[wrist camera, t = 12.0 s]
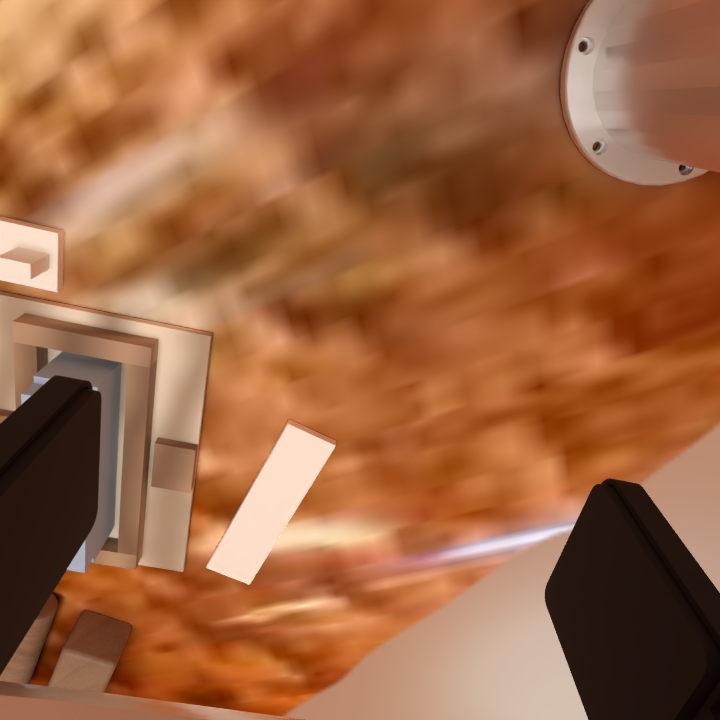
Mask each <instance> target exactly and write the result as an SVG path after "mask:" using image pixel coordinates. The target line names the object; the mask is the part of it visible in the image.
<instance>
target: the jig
mask: <svg viewBox="0 0 720 720" xmlns="http://www.w3.org/2000/svg"><path fill="white" fill-rule="evenodd" d="M212 337H213V333H210V332H205V331H200V330H195V329H189V328H184V327H179V326H174V325H169V324H164V323H159V322H154V321H149V320H144V319H139V318H134V317H129V316H124V315H119V314H114V313H109V312H104V311H99V310H94V309H89V308H84V307H78V306H73V305H68V304H63V303H58V302H53V301H48V300H43V299H38V298H33V297H28V296H23V295H18V294H13V293H8V292H3V291H0V423H2V422H3V421H4V420H5V419H6V418H7V417H8V416H9V415H10V414H12V413H13V412H14V411H15V410H16V409H17V408H18V407H19V406H20V405H21V393H22V392H24V391H25V390H26V389H27V388H28V387H29V386H31V385H32V384H33V383H34V375H35V374H36V373H38V372H39V371H40V370H41V369H42V368H43V367H45V366H46V365H47V364H48V363H49V362H51V361H52V360H53V359H54V358H55V357H56V356H58V355H59V354H60V353H61V352H62V351H64V352H69V353H74V354H80V355H85V356H90V357H95V358H101V359H106V360H111V361H116V362H122V365H121V388H120V411H119V434H118V458H117V481H116V504H115V526H114V528H113V529H112V531H111V533H110V535H109V536H108V538H107V540H106V542H105V543H104V545H103V547H102V549H101V550H100V552H99V554H98V556H97V557H96V559H95V561H94V562H91V563H97V564H103V565H109V566H116V567H122V568H128V569H134V570H136V568H137V566H138V565H144V566H150V567H156V568H163V569H169V570H175V571H181V572H183V571H184V568H185V563H186V555H187V546H188V538H189V530H190V521H191V513H192V505H193V496H194V488H195V480H196V471H197V463H198V454H199V446H200V438H201V429H202V421H203V413H204V404H205V396H206V387H207V379H208V371H209V362H210V354H211V346H212Z"/></svg>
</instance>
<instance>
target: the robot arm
mask: <svg viewBox="0 0 720 720" xmlns="http://www.w3.org/2000/svg"><path fill="white" fill-rule="evenodd" d="M580 42H583V43H584V45H585V48H584V50H583V51H582V52H580V51H579V49H578V45H579V43H580ZM560 98H561V104H562V110H563V117H564V120H565V123H566V125H567V128H568V131H569V134H570V136H571V138H572V139H573V141H574V143H575V144H576V146H577V147H578V149H579V151H580V152H581V153H582V154H583V155H584V156H585V157H586V158H587V159H588V160H589V161H590V162H591V164H592V165H593V166H595V167H596V168H598V169H600V170H601V171H603V172H604V173H606V174H607V175H609V176H612V177H615V178H617V179H620V180H622V181H626V182H630V183H634V184H639V185H655V186H662V185H668V184H674V183H680V182H684V181H686V180H689V179H692V178H695V177H698V176H700V175H703V174H704V173H706V172H708V171H714V172H719V173H720V0H589V1H588V3H587V4H586V6H585V7H584V9H583V11H582V13H581V15H580V16H579V18H578V20H577V22H576V24H575V25H574V28H573V30H572V33H571V36H570V39H569V41H568V44H567V47H566V49H565V54H564V59H563V65H562V70H561V86H560ZM595 142H597V143H598V147H597V149H596V150H593V149H592V148H593V144H594V143H595ZM680 165H682V168H681V169H680V170H679V166H680ZM101 403H102V398H101V393H100V392H99V391H96V390H93V387H92V384H91V383H90V381H86V380H81V379H75V378H70V377H65V376H59V375H55V376H53V377H52V378H50V379H49V380H48V381H47V382H46V383H45V384H44V385H43V386H42V387H40V388H39V389H38V390H37V391H36V392H35V393H34V394H33V395H32V396H30V397H29V398H28V399H27V400H26V401H25V402H24V403H23V404H22V405H20V406H19V407H18V408H17V409H16V410H15V411H14V412H13V413H12V414H10V415H9V416H8V417H7V418H6V419H5V420H4V421H3V422H2V423H0V676H1V674H2V672H3V671H4V669H5V668H6V666H7V664H8V663H9V661H10V660H11V658H12V656H13V655H14V653H15V652H16V650H17V648H18V647H19V645H20V644H21V642H22V640H23V639H24V637H25V636H26V634H27V632H28V631H29V629H30V628H31V626H32V624H33V623H34V621H35V620H36V618H37V616H38V615H39V613H40V612H41V610H42V608H43V607H44V605H45V604H46V602H47V600H48V599H49V597H50V596H51V594H52V592H53V591H54V589H55V588H56V586H57V584H58V583H59V581H60V580H61V578H62V576H63V575H64V573H65V572H66V570H67V568H68V567H69V565H70V564H71V562H72V560H73V559H74V557H75V556H76V554H77V552H78V551H79V549H80V548H81V546H82V544H83V543H84V541H85V539H86V538H87V536H88V535H89V533H90V531H91V530H92V528H93V526H94V523H95V520H96V517H97V512H98V492H99V463H100V433H101ZM545 602H546V606H547V609H548V611H549V614H550V617H551V619H552V622H553V625H554V628H555V630H556V633H557V636H558V638H559V641H560V644H561V646H562V649H563V652H564V655H565V657H566V660H567V662H568V665H569V668H570V671H571V674H572V676H573V679H574V682H575V684H576V687H577V690H578V693H579V695H580V698H581V701H582V703H583V706H584V709H585V711H586V714H587V717H588V720H720V593H719V591H718V590H717V589H716V587H715V586H714V584H713V583H712V582H711V581H710V579H709V578H708V576H707V575H706V574H705V572H704V571H703V569H702V568H701V567H700V565H699V564H698V563H697V561H696V560H695V558H694V557H693V556H692V554H691V553H690V552H689V550H688V549H687V547H686V546H685V545H684V544H683V542H682V541H681V539H680V538H679V537H678V535H677V534H676V533H675V531H674V530H673V529H672V527H671V526H670V524H669V523H668V521H667V520H666V519H665V517H664V516H663V515H662V513H661V512H660V511H659V509H658V508H657V506H656V505H655V504H654V503H653V501H652V500H651V498H650V497H649V496H648V494H647V493H646V491H645V490H644V489H643V487H642V486H640V485H639V484H636V483H631V482H626V481H621V480H615V479H606V480H605V481H603V482H602V484H597V485H595V486H594V487H593V489H592V490H591V492H590V494H589V496H588V499H587V501H586V503H585V505H584V507H583V509H582V511H581V513H580V515H579V517H578V520H577V522H576V524H575V526H574V528H573V530H572V532H571V534H570V536H569V538H568V541H567V543H566V545H565V547H564V549H563V551H562V553H561V556H560V558H559V560H558V562H557V564H556V566H555V568H554V570H553V572H552V574H551V576H550V579H549V581H548V583H547V586H546V589H545ZM0 720H303V719H295V718H288V717H281V716H273V715H266V714H258V713H251V712H243V711H236V710H229V709H221V708H214V707H206V706H199V705H191V704H184V703H176V702H169V701H161V700H154V699H146V698H139V697H131V696H124V695H116V694H109V693H101V692H92V691H84V690H75V689H66V688H58V687H49V686H41V685H32V684H23V683H15V682H6V681H0Z"/></svg>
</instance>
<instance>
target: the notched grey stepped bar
mask: <svg viewBox="0 0 720 720" xmlns="http://www.w3.org/2000/svg"><path fill="white" fill-rule="evenodd" d="M121 365H122V362H116V361H111V360H106V359H101V358H95V357H90V356H85V355H80V354H74V353H69V352H64V351H62V352H61V353H60V354H59V355H58V356H56V357H55V358H54V359H53V360H52V361H51V362H49V363H48V364H47V365H46V366H45V367H43V368H42V369H41V370H40V371H39V372H38V373H36V374H35V375H34V383H33V384H32V385H31V386H29V387H28V388H27V389H26V390H25V391H24V392H22V393H21V405H22V404H23V403H24V402H25V401H26V400H27V399H28V398H29V397H30V396H32V395H33V394H34V393H35V392H36V391H37V390H38V389H39V388H40V387H42V386H43V385H44V384H45V383H46V382H47V381H48V380H49V379H50V378H52V377H53V376H55V375H59V376H65V377H70V378H75V379H81V380H86V381H90V383H91V384H92V387H93V390H96V391H99V392H100V393H101V398H102V403H101V433H100V463H99V492H98V512H97V517H96V520H95V523H94V526H93V528H92V530H91V531H90V533H89V535H88V536H87V538H86V539H85V541H84V543H83V544H82V546H81V548H80V549H79V551H78V552H77V554H76V556H75V557H74V559H73V560H72V562H71V564H70V565H69V567H68V568H67V570H71V571H78V572H84V573H85V571H86V570H87V568H88V566H89V565H90V563H91V562H94V561H95V559H96V557H97V556H98V554H99V552H100V550H101V549H102V547H103V545H104V543H105V542H106V540H107V538H108V536H109V535H110V533H111V531H112V529H113V528H114V526H115V504H116V481H117V458H118V434H119V411H120V388H121Z"/></svg>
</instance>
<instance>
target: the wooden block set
mask: <svg viewBox="0 0 720 720" xmlns="http://www.w3.org/2000/svg"><path fill="white" fill-rule="evenodd" d="M57 608H58V601H57V599H56V597H55V595H54V594H53V593H52V594H51V596H50V597H49V599H48V600H47V602H46V604H45V605H44V607H43V608H42V610H41V612H40V613H39V615H38V616H37V618H36V620H35V621H34V623H33V624H32V626H31V628H30V629H29V631H28V632H27V634H26V636H25V637H24V639H23V640H22V642H21V644H20V645H19V647H18V648H17V650H16V652H15V653H14V655H13V656H12V658H11V660H10V661H9V663H8V664H7V666H6V668H5V669H4V671H3V672H2V674H1V676H0V681H6V682H15V683H23V684H29V683H30V680H31V678H32V675H33V672H34V670H35V667H36V664H37V662H38V659H39V656H40V653H41V651H42V648H43V645H44V643H45V640H46V637H47V635H48V632H49V629H50V627H51V624H52V621H53V619H54V616H55V613H56V611H57ZM131 630H132V625H130V624H129V623H126V622H123V621H120V620H117V619H114V618H110V617H107V616H104V615H101V614H98V613H95V612H92V611H89V610H84V611H83V612H82V613H81V615H80V617H79V619H78V621H77V622H76V624H75V626H74V628H73V630H72V632H71V634H70V636H69V638H68V639H67V641H66V643H65V645H64V647H63V649H62V651H61V654H60V656H59V659H58V661H57V664H56V666H55V669H54V671H53V674H52V676H51V679H50V682H49V684H48V686H49V687H58V688H66V689H75V690H84V691H92V692H101V693H104V692H105V689H106V687H107V685H108V683H109V681H110V679H111V676H112V674H113V672H114V670H115V668H116V666H117V663H118V661H119V658H120V656H121V654H122V651H123V649H124V647H125V644H126V642H127V639H128V637H129V635H130V632H131Z"/></svg>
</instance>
